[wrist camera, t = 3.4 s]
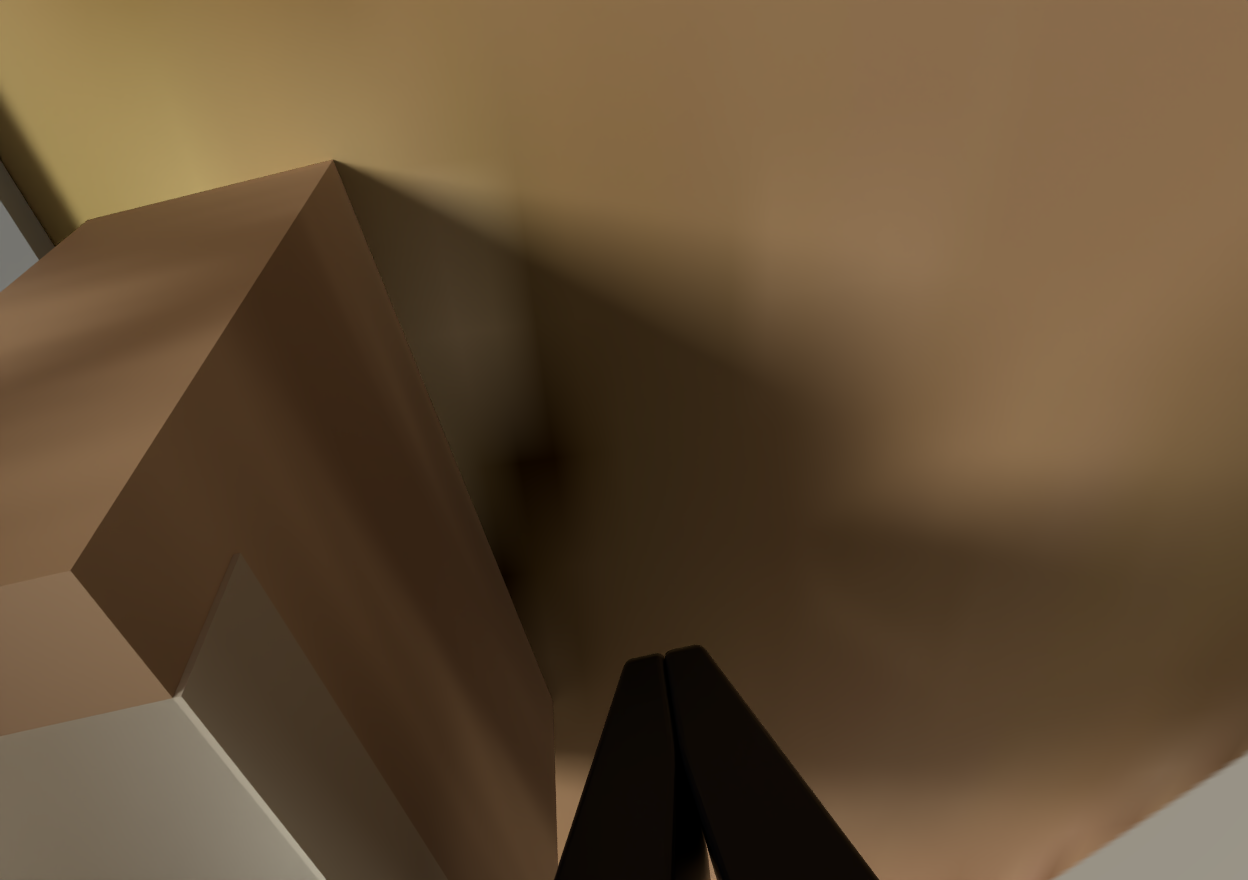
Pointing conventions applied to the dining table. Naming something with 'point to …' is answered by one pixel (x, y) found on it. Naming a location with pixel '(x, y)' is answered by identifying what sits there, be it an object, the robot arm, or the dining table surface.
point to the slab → (248, 569)
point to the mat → (18, 233)
